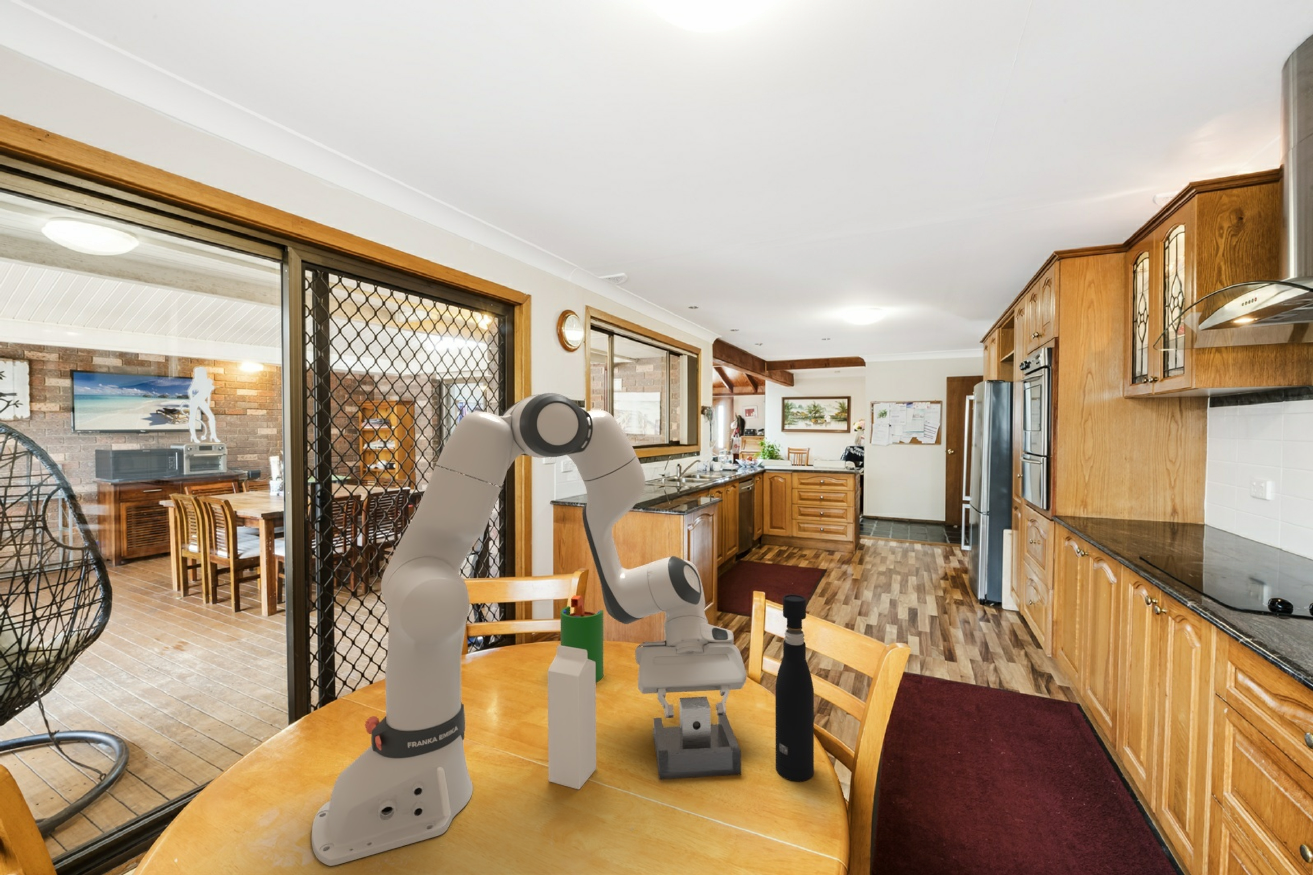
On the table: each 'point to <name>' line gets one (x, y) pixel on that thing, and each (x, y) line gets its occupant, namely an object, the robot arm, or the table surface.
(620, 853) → the table surface
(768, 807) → the table surface
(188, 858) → the table surface
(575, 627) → the green pencil holder
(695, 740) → the block
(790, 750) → the black water bottle
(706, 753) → the bracket
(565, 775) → the milk
